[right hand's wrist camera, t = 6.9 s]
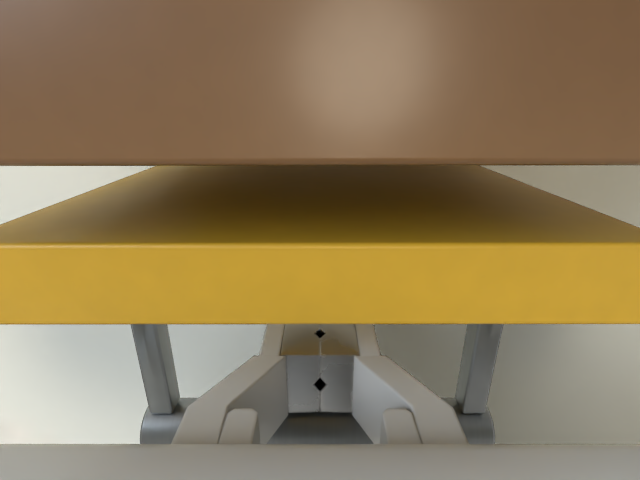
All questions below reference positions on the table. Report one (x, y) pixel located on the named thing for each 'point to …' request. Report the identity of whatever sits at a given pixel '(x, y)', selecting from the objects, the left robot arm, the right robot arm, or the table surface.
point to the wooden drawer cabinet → (319, 82)
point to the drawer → (318, 266)
